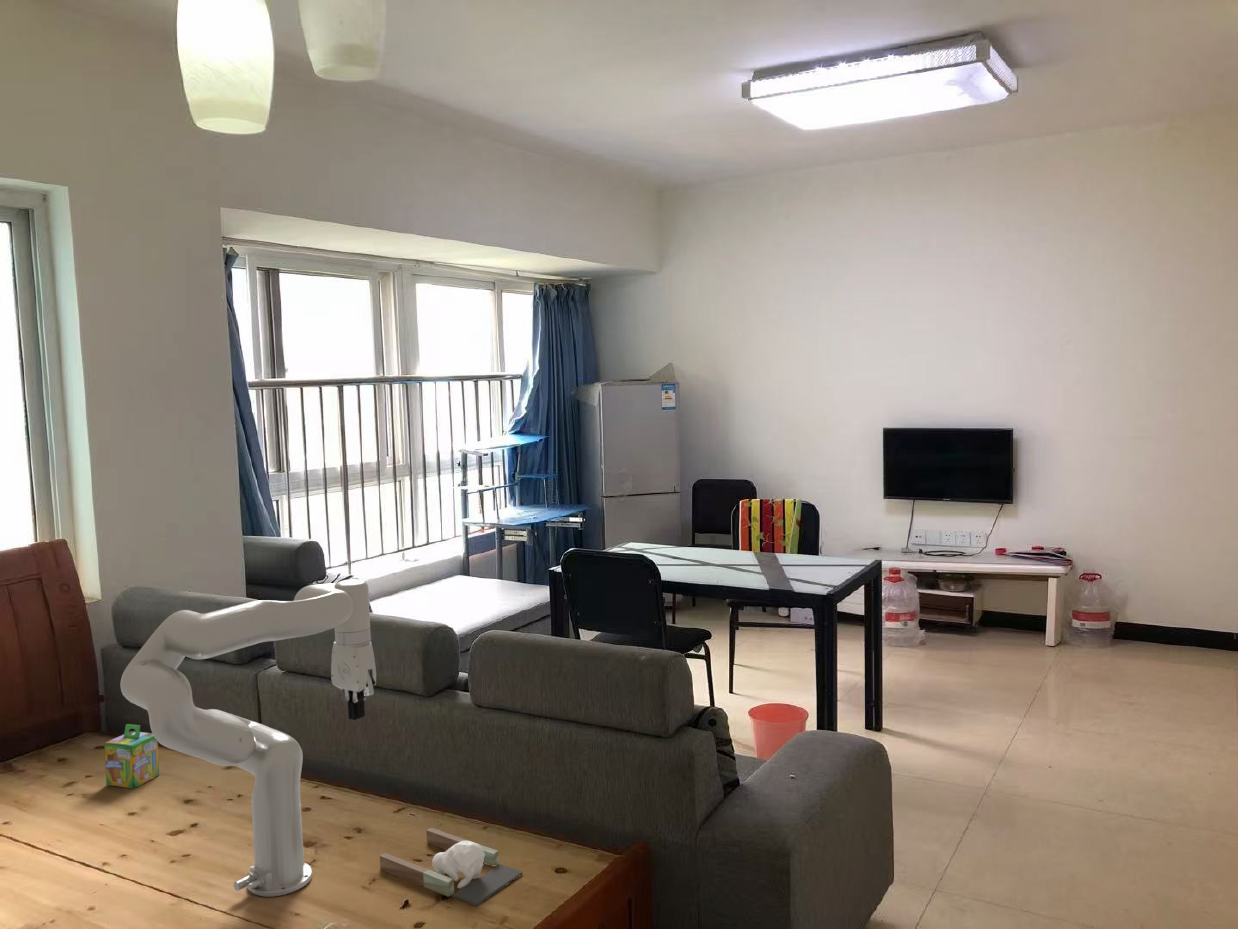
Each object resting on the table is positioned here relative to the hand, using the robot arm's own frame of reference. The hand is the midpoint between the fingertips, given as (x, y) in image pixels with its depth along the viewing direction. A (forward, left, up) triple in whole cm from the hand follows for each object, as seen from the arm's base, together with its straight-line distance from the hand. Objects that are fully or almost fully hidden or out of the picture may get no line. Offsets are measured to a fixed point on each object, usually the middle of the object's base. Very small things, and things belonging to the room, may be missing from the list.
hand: (356, 717), depth 210 cm
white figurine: (0, -28, -29) cm, 41 cm away
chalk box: (-9, +79, -29) cm, 85 cm away
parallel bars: (+2, -22, -29) cm, 37 cm away
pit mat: (+2, -36, -29) cm, 46 cm away
